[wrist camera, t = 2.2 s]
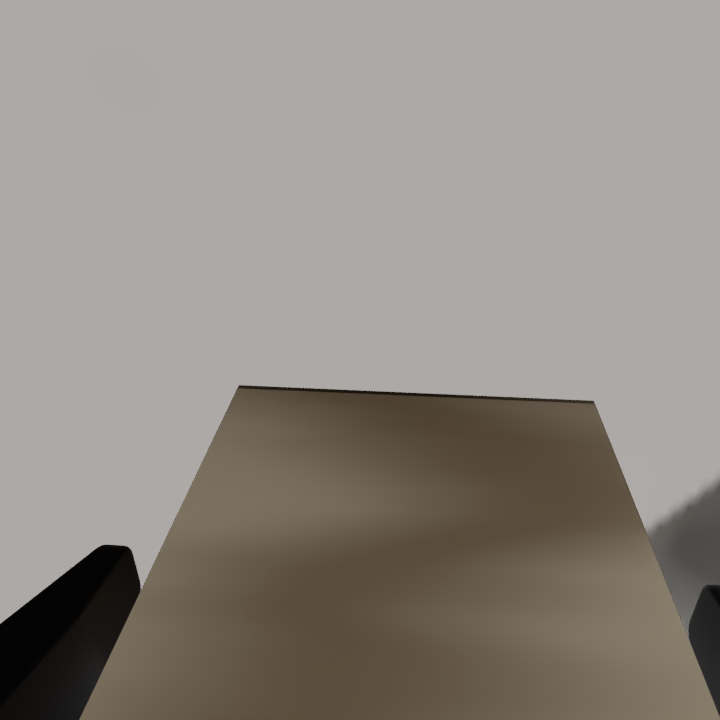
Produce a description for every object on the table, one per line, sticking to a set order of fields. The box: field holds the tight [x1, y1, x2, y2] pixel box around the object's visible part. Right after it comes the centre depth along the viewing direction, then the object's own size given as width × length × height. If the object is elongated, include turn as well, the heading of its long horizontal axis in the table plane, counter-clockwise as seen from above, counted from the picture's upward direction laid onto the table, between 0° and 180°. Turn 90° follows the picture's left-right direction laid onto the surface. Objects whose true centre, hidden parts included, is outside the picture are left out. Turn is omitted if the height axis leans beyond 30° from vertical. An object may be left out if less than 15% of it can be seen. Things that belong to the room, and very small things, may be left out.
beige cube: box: [79, 385, 720, 720], centre depth 8 cm, size 5×5×5 cm
